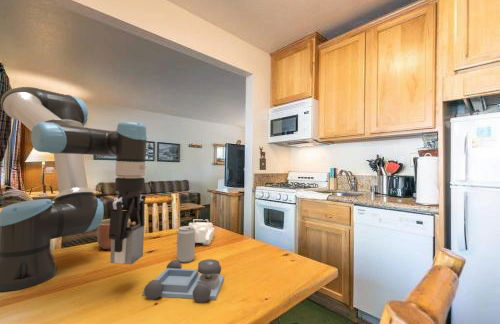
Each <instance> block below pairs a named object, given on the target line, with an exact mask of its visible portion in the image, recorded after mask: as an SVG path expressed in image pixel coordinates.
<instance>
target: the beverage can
mask: <svg viewBox="0 0 500 324" xmlns="http://www.w3.org/2000/svg"><path fill="white" fill-rule="evenodd" d="M176 232H177V234H176V235H177V237H176V260H177V261H179V262H180V263H190V262H193V260H194V259H195V258H196V257H195V255H196V254H195V253H196V252H195V249H196V247H195V246H196V243H195V230H194V227H192V226H189V225H183V226H179V227H178V230H177V231H176Z"/></svg>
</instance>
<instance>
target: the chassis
mask: <svg viewBox="0 0 500 324" xmlns="http://www.w3.org/2000/svg"><path fill="white" fill-rule="evenodd" d="M221 272H222V266H221V265H220V263H219V271H218V272H216V273H214V274H210V277H207V274H201V273H199V272H198V269H194V268H193V269H189V268H183V267H182V262H180V261H178V260H177V259H173V260H171V261H170V262H168V264H167V265H166V269H165V270H164V271H163V272H161V273H160V274H159V275H158V276H157V277H156V278H155V279H152V280H151V281H149V282H148V283H147V284H146V285H145V287H144V289H143V291H142V293H141V294H142V296H144V297H145V298H146V299H148V300H151V301H154V300H157V299H158V298H173V299H174V298H175V299H188V300H189V299H190V300H191V299H192V300H195V302H197V303H201V304H202V303H205V302H207V301H216V300H217V299H218V295H219V293H220V290H221V288H222V285H223V283H224V280H225V275H222V274H221Z"/></svg>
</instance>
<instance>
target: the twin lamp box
mask: <svg viewBox="0 0 500 324" xmlns="http://www.w3.org/2000/svg"><path fill="white" fill-rule="evenodd" d="M144 234H145V225H144V226H140V224H138V223H135V221H131V222H130V223H127V227H126V232H125V237H124V239H126V261H125V263H124V264H123V265H129V266H130V265H133V264H134V263H136V262H137V261H138V260H140V259H141V258H142V257H144V237H145V235H144ZM114 249H115V240H114V239H111V250H110V260H109V261H110V264H117V265H118V264H119V265H122V264H121V263H114V257H115V251H114Z"/></svg>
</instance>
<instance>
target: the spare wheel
mask: <svg viewBox="0 0 500 324" xmlns="http://www.w3.org/2000/svg"><path fill="white" fill-rule="evenodd" d="M219 264H220V262H219V260H217V259H212V258H211V259H210V258H207V259H203V260H200V261H199V262H198V264H197V270H198V274H207V277H210V274H214V273H216V272H218V271H219Z"/></svg>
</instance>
